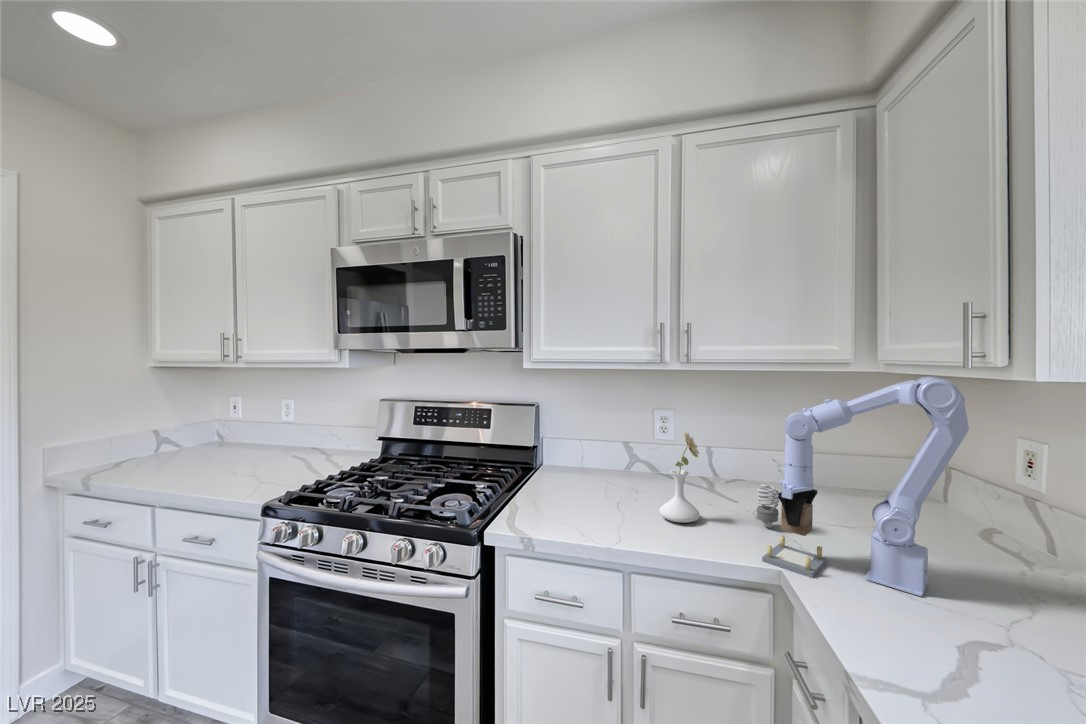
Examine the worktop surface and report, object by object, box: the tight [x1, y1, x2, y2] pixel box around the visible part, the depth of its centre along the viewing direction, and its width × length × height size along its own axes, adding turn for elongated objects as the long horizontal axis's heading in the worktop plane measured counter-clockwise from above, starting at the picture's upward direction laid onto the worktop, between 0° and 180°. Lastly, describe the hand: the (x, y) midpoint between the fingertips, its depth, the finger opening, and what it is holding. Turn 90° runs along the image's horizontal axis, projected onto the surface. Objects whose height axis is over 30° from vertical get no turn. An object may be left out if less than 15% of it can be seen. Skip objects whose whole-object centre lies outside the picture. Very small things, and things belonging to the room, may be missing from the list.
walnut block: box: [780, 503, 814, 537], centre depth 104 cm, size 5×5×6 cm
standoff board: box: [761, 535, 828, 579], centre depth 103 cm, size 10×10×4 cm
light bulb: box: [755, 484, 780, 529], centre depth 123 cm, size 6×6×12 cm
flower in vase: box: [658, 431, 701, 524], centre depth 130 cm, size 13×11×25 cm
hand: (797, 522), depth 104 cm, fingers closed on walnut block, 5 cm apart
